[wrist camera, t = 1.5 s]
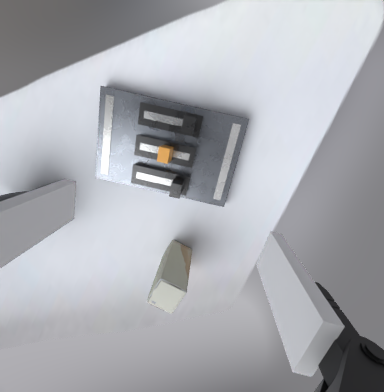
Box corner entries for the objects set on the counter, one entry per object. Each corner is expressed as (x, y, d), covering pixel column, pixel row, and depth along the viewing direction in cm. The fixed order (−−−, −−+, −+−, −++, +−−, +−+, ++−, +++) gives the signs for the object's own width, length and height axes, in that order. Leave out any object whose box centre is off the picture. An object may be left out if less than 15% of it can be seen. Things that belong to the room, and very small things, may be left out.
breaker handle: (163, 144, 30) (158, 146, 27) (173, 147, 30) (170, 149, 27) (161, 158, 31) (156, 161, 28) (171, 160, 31) (167, 163, 28)
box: (180, 267, 41) (170, 316, 30) (161, 258, 40) (144, 304, 30) (193, 248, 39) (187, 292, 29) (173, 237, 39) (160, 279, 28)
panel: (105, 87, 31) (81, 78, 25) (247, 119, 31) (256, 117, 25) (99, 175, 36) (78, 185, 30) (223, 203, 36) (226, 219, 30)
